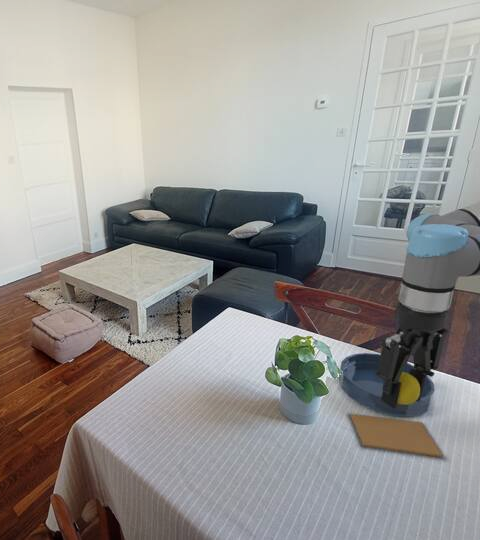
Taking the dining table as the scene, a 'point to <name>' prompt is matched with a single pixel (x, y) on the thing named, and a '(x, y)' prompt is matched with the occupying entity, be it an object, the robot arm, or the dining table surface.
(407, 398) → the lemon
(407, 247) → the robot arm
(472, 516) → the dining table surface
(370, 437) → the cork mat
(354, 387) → the bowl
